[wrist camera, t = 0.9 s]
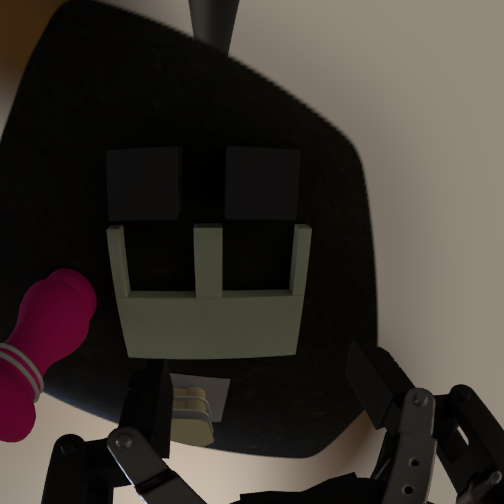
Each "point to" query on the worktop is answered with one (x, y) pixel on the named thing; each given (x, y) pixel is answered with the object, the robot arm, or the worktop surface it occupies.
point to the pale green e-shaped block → (210, 306)
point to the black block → (261, 183)
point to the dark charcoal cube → (144, 183)
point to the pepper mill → (41, 345)
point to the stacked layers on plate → (196, 408)
